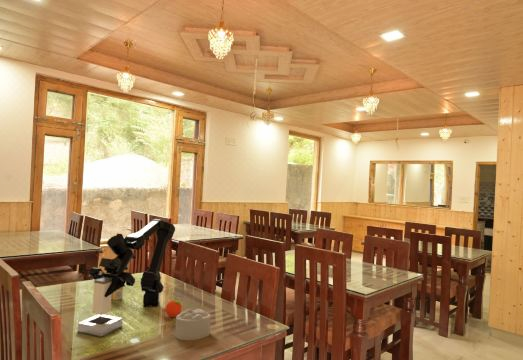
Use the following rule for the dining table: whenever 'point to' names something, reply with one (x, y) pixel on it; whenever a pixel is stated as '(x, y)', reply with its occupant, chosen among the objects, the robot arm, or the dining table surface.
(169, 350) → the dining table surface
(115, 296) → the candy box
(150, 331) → the dining table surface
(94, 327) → the socket
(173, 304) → the tomato
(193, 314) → the lumpy-topped squat cylinder
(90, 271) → the robot arm
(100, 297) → the plug
